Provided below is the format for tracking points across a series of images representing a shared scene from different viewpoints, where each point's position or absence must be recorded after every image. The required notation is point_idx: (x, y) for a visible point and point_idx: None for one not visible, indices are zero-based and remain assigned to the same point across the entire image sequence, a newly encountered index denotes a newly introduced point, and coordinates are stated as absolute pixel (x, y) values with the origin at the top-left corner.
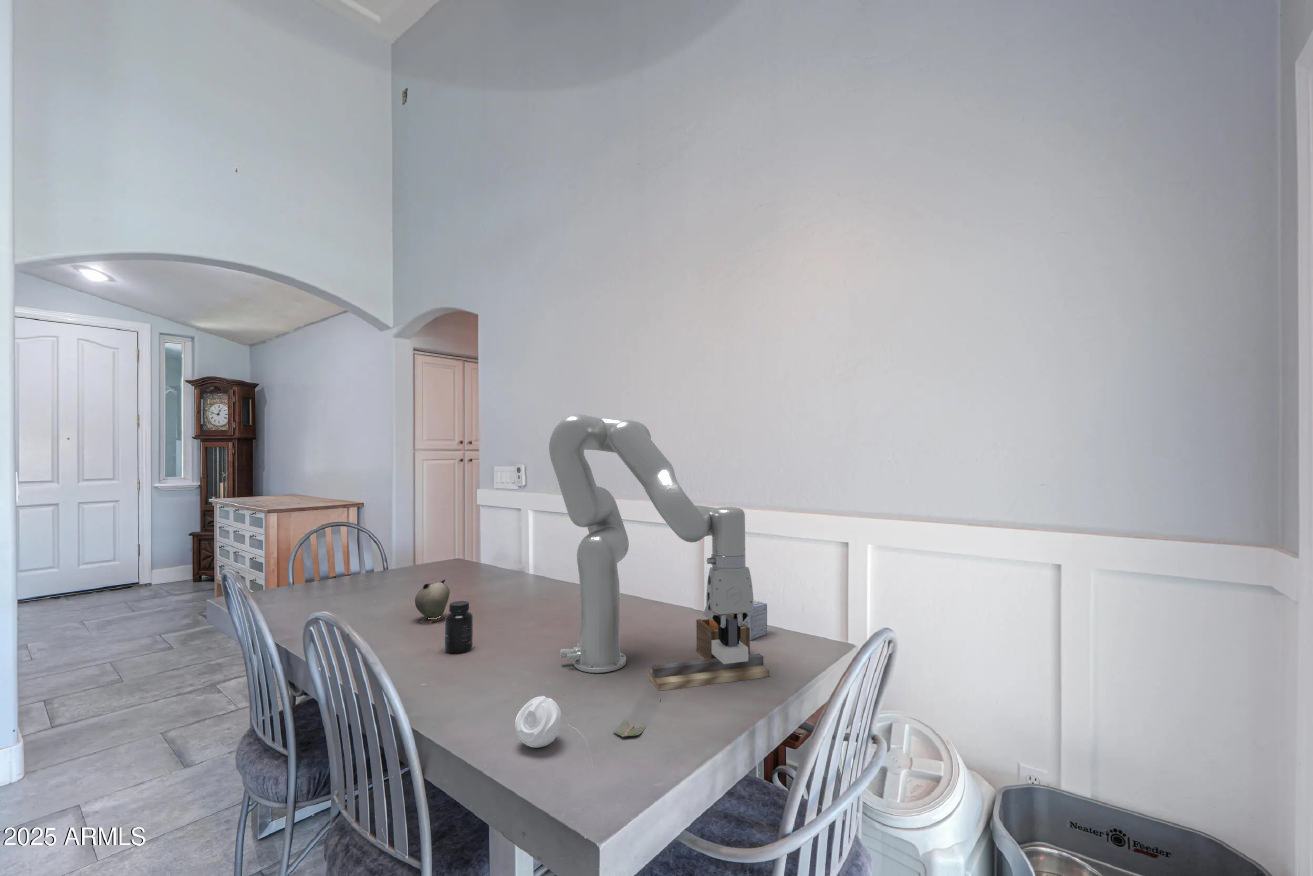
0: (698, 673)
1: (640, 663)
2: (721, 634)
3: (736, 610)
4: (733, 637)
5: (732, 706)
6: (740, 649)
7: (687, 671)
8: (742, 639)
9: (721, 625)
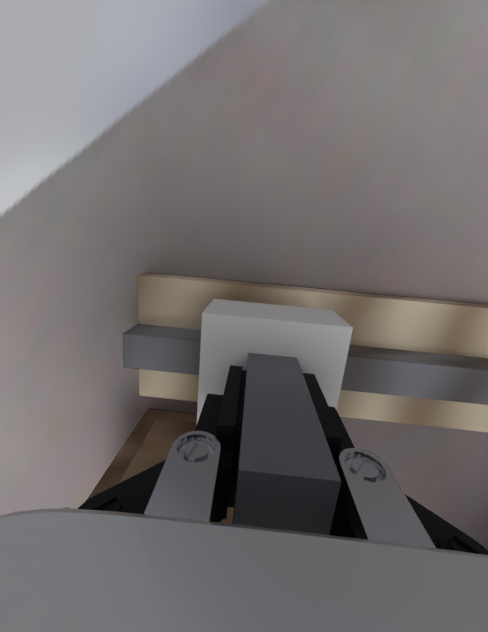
0: (399, 345)
1: (474, 514)
2: (342, 427)
3: (274, 583)
4: (272, 379)
5: (409, 83)
6: (248, 316)
7: (447, 358)
8: (144, 469)
9: (375, 472)
